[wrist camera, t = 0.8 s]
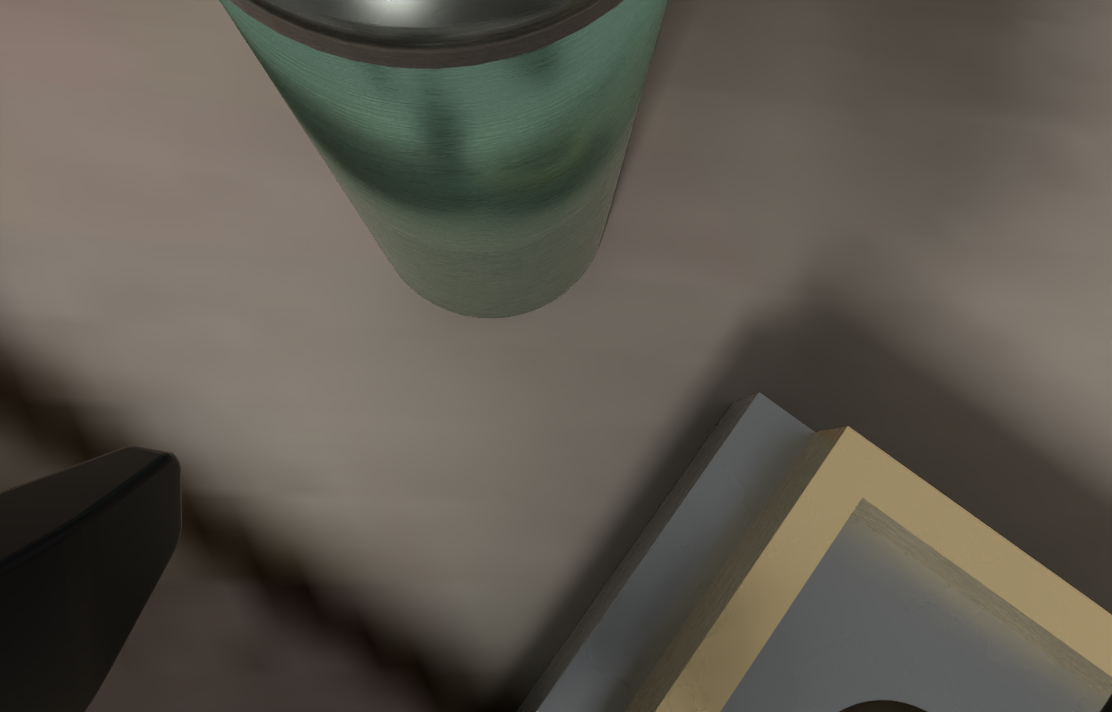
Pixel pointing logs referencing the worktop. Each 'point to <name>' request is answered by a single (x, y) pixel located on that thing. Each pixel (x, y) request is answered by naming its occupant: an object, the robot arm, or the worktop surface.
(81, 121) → the worktop surface
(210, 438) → the worktop surface
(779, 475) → the grey tray base
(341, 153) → the spout can
